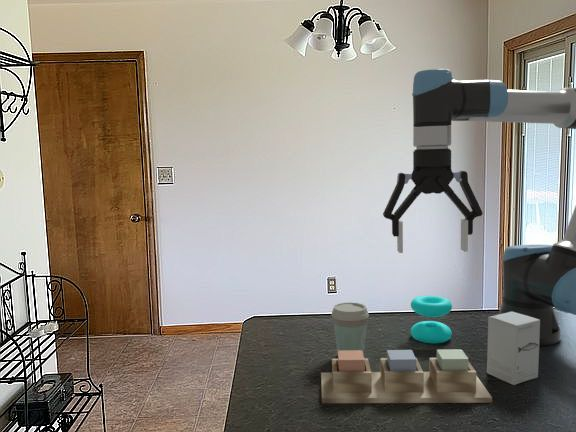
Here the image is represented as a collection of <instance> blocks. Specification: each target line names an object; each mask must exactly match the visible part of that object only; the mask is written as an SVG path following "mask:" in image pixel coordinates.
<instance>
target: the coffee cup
mask: <svg viewBox="0 0 576 432" xmlns="http://www.w3.org/2000/svg"><path fill="white" fill-rule="evenodd" d="M369 316H370V315H369V311H368V308H367V306H366V305H365V304H363V303H359V302H352V301H351V302H350V301H349V302H339V303H337V304H335V305H334V306H333V308H332V311H331V317H332V321H333V328H334V334H335V335H334V336H335V342H336V352H337V353H338V351H343V350H362V351H363V355H365V354H364V352H365V346H366V345H365V344H366V334H367V324H368V318H369Z"/></svg>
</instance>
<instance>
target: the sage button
mask: <svg viewBox="0 0 576 432" xmlns="http://www.w3.org/2000/svg"><path fill="white" fill-rule="evenodd" d="M436 358H437V365H438V367H439V369H440V371H468V361H469V359H470V358H469V357H468V356H467V355H466V353H465V352H464V350H462V349H460V348H459V349H453V348H451V349H449V348H448V349H447V348H446V349H436Z"/></svg>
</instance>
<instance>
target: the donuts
mask: <svg viewBox="0 0 576 432" xmlns="http://www.w3.org/2000/svg"><path fill="white" fill-rule="evenodd" d="M410 308H411V310H412V311H413V312H414V313H416V314H418V315H420V316H423V317H428V318H439V317H443V316H446V315H448V314H449V313H450V312H451V311H452V308H453V305H452V302H451V301H450V300H449V299H447V298H446V297H443V296H438V295H420V296H417V297H414V298H413V299H412V300H411V302H410ZM452 334H453V333H452V330H451V328H450V327H449V326H448V325H446V324H445V323H442V322H440V321H435V320H423V321H419V322H416V323H415V324H413V325H412V327H411V329H410V335H411V337H412V338H413V339H414V340H416V341H418V342H422V343H425V344H443V343H445V342H446V343H447V342H448V341H449V340H450V339H452Z"/></svg>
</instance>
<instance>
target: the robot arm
mask: <svg viewBox="0 0 576 432" xmlns="http://www.w3.org/2000/svg"><path fill="white" fill-rule="evenodd" d="M412 109H413V110H412V111H413V112H412V113H413V124H412V125H413V127H412V128H413V129H412V132H413V133H412V135H413V136H412V137H413V139H412V140H413V141H412V144H413V147H415V148H416V149H413V150H414V151H412V153H413V154H412V155H413V156H412V157H413V158H412V159H413V160H412V161H413V165H412V167H413V168H412V172H411V173H403V172H399V173H397V179H396V185H395V186H394V188H393V191H392V193H391V195H390V197H389V200H388V202H387V205H386V206H385V208H384V211H383V213H382V216H383V217H384V218H385V219H388V220H390V221H391V234H392V236H393V237H394V238H395V237H397V239H396V240H397V241H396V245H397V246H396V247H397V250H396V251H397V252H398V254H403V253H404V238H403V237H404V233H403V232H404V230H403V229H404V228H403V225H404V223H403V220H401V218H402V217H403V216H404V214H405V213H406V212H407V210H409V208H410V207H411V205H413V203H414V201H416V200H417V198H418V197H419V196H420V195H421V194H425V195H427V194H428V195H429V194H430V195H431V194H437V195H438V194H442V193H444V194H445V195H446V196H447V197H448V198H449V199H450V201H451V202H452V203H453V205H455V207H456V208H457V209H458V211H460V213H461V214H462V215H463V216H464V218H460V250H461V251H463V252H467V253H468V252H469V250H468V249H469V236H472V235H473V233H474V230H473V229H474V220H475V218H478V217H481V216H482V215H483V213H484V212H483V210H482V208H481V207H480V205H479V201H478V200H477V198H476V196H475V193H474V191H473V190H472V187H471V185H470V183H469V178H468V177H469V175H468V172H467V171H465V170H459V171H457V172H453V170H452V150H451V149H450V148H449V147H450V146H451V145H452V122H487V123H488V122H489V123H490V122H491V123H492V122H493V123H518V124H519V123H522V124H548V125H549V124H553V125H554V126H555V127H557V128H559V129H569V130H570V129H571V130H576V87H562V88H561V89H560V90H558V91H548V90H545V91H544V90H527V89H525V90H522V89H521V90H520V89H508V88H507V86H506V84H505V82H503V81H502V80H497V79H496V80H494V79H490V78H488V79H474V80H473V79H472V80H469V79H468V80H458V79H457V80H456V79H453V74H452V71H451V70H450V69H447V68H432V69H431V68H429V69H423V70H420V71H417V72H416V73H415V74H414V76H413V84H412ZM453 179H455V181H456V182H457V183H459V186H460V187H461V190H462V192H463V194H464V196H465V199H466V200H467V202H468V204H469V207H470V209H471V211H470V210H469V208H468V207H467V206H466V204H464V202H463V201H462V200H461V198H459V196H458V195H457V194H456V192H455V191H454V189H452V187H451V186H450V184H451V182H452V181H453ZM410 180H411V181H412V182H413V184H414V185H415V186H413V188H412V190H411V191H410V192H409V194H408V195H407V196H406V198H405V199H404V200H403V201H402V203H401V204H400V205H399V206H398V208H396V210H395V211H394V209H395V207H396V205H397V203H398V200H399V199H400V197H401V195H402V192H403V190H404V188H405V185H407V184H408V183H409V181H410ZM393 211H394V212H393ZM555 309H556V310H558V311H560V312H563V313H566V314H571V315H575V316H576V205H575V207H574V209H573V212H572V214H571V217H570V219H569V222H568V226H567V228H566V230H565V233H564V236H563V238H562V239H561V240H559V241H557V242H555V243H553V244H520V245H509V246H508V247H506V248H505V249H504V251H503V257H502V304H501V306H500V309H499V312H498V314H497V315H499V314H503V313H508V312H516V313H519V314H523V315H526V316H530V317H533V318H536V319H539V320H540V337H539V347H540V346H550V345H551V346H552V345H554V344H557V343H558V342H560V341H561V329H560V326H559V322H558V319H557V316H556V312H555Z"/></svg>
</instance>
